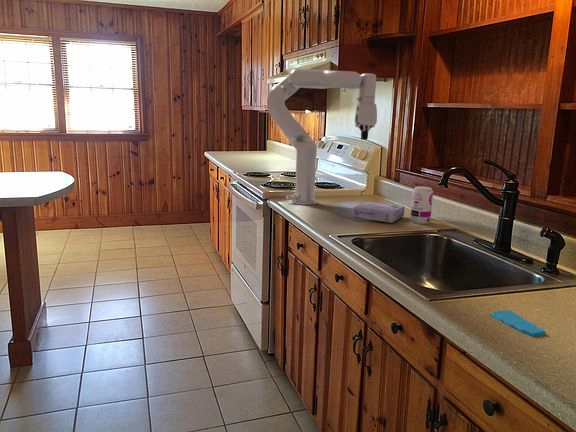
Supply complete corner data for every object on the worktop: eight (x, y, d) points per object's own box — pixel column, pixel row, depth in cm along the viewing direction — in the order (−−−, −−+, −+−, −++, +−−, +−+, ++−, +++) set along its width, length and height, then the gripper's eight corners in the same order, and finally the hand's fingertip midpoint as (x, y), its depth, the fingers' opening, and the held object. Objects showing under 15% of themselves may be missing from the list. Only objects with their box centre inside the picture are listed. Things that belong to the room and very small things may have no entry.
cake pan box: (363, 211, 224) (349, 217, 209) (363, 200, 223) (350, 205, 208) (404, 217, 216) (393, 223, 200) (405, 205, 215) (394, 211, 199)
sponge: (524, 335, 103) (547, 329, 104) (488, 312, 114) (509, 307, 115) (524, 341, 103) (547, 336, 104) (488, 317, 114) (509, 313, 116)
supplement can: (431, 221, 208) (434, 187, 205) (428, 225, 201) (431, 189, 198) (412, 219, 212) (415, 185, 208) (408, 223, 204) (411, 188, 201)
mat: (357, 222, 203) (357, 220, 203) (330, 211, 222) (330, 210, 222) (392, 218, 211) (392, 217, 211) (363, 208, 230) (364, 207, 230)
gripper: (358, 100, 223) (355, 140, 227) (384, 101, 230) (381, 140, 234) (349, 100, 230) (346, 138, 234) (374, 101, 236) (372, 138, 240)
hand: (364, 139), depth 234 cm, fingers closed
